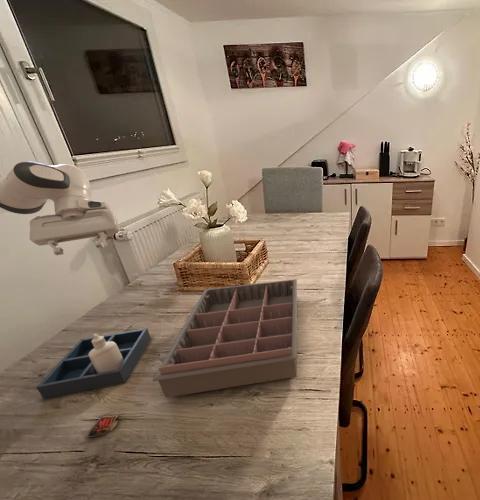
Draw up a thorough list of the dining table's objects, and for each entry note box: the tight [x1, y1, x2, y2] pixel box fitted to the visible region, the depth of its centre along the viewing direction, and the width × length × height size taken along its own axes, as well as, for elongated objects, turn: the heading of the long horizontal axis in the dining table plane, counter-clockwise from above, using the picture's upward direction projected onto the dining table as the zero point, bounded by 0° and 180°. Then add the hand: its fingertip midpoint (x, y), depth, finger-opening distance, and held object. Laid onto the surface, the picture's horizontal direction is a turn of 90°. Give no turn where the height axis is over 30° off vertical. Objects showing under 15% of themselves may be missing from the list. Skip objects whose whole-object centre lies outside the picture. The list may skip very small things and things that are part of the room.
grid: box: [36, 327, 152, 400], centre depth 77 cm, size 17×17×4 cm
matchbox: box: [87, 414, 119, 438], centre depth 61 cm, size 5×5×1 cm
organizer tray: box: [152, 278, 298, 399], centre depth 84 cm, size 32×40×10 cm
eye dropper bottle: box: [88, 333, 124, 373], centre depth 73 cm, size 4×6×12 cm
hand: (79, 250), depth 84 cm, fingers open, 8 cm apart
